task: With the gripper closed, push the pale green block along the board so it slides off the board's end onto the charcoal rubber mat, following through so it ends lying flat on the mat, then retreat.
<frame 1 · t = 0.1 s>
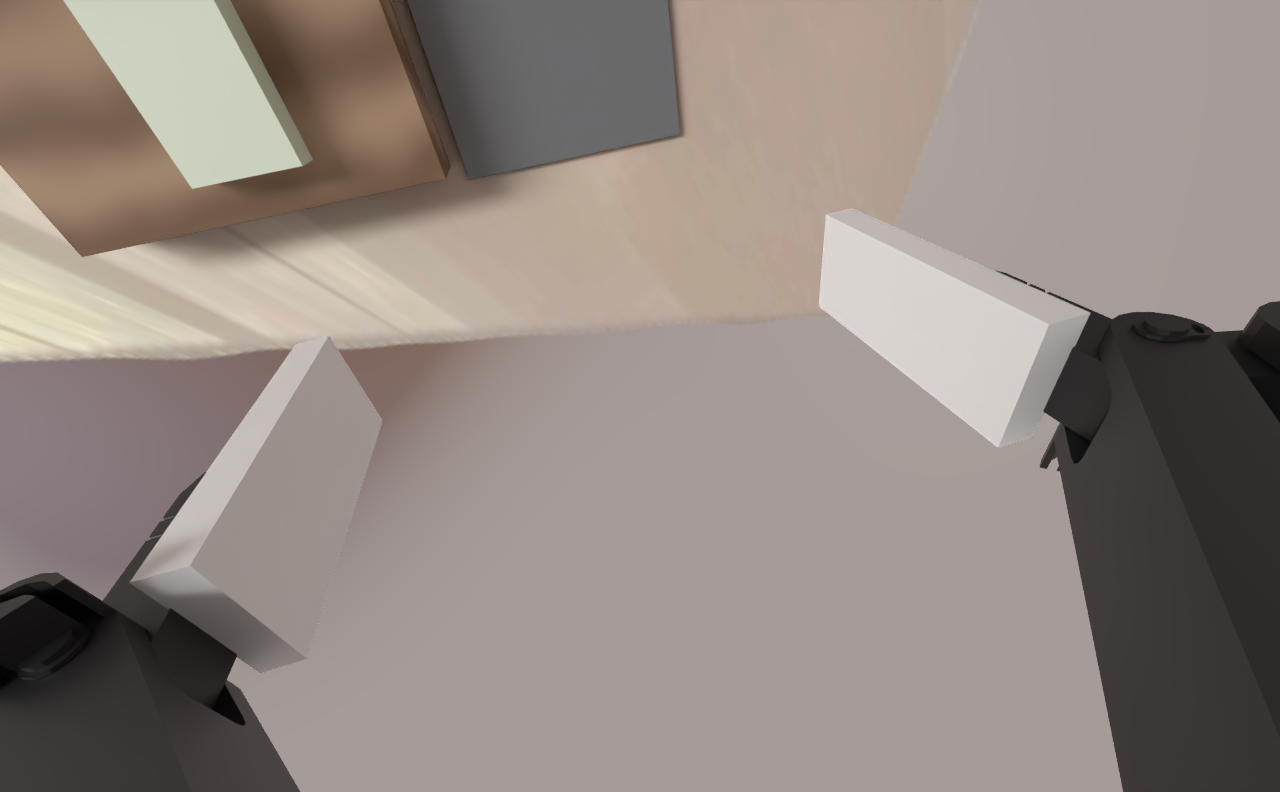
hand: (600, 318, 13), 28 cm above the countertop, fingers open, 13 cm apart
board: (224, 82, 29), on the countertop
mat: (547, 21, 31), on the countertop
pale green block: (209, 81, 26), point 4 cm above the countertop, touching board
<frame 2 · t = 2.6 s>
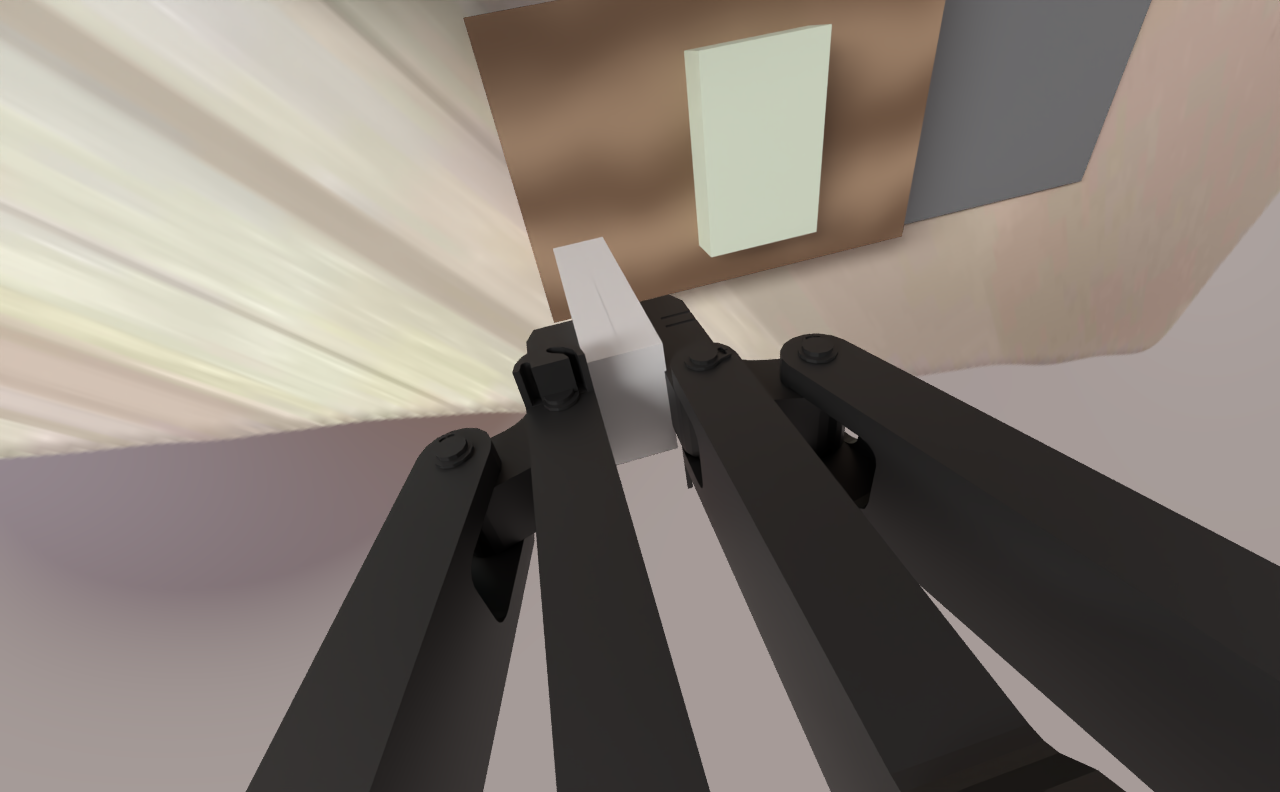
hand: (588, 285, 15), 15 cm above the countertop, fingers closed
board: (703, 138, 28), on the countertop
mat: (1013, 70, 29), on the countertop
pale green block: (748, 146, 25), point 4 cm above the countertop, touching board
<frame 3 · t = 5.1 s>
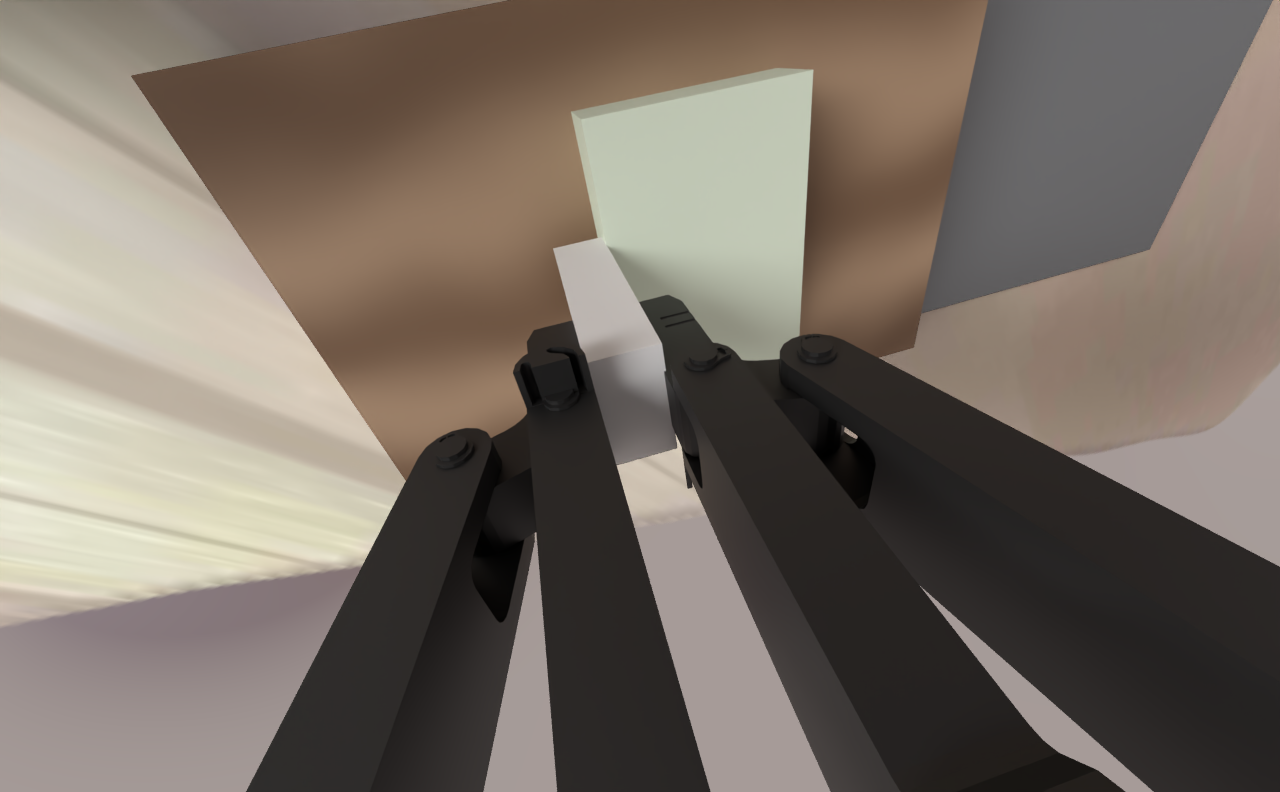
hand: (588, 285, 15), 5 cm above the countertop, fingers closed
board: (625, 222, 19), on the countertop
mat: (1068, 113, 21), on the countertop
pale green block: (690, 246, 16), point 4 cm above the countertop, touching board, gripper
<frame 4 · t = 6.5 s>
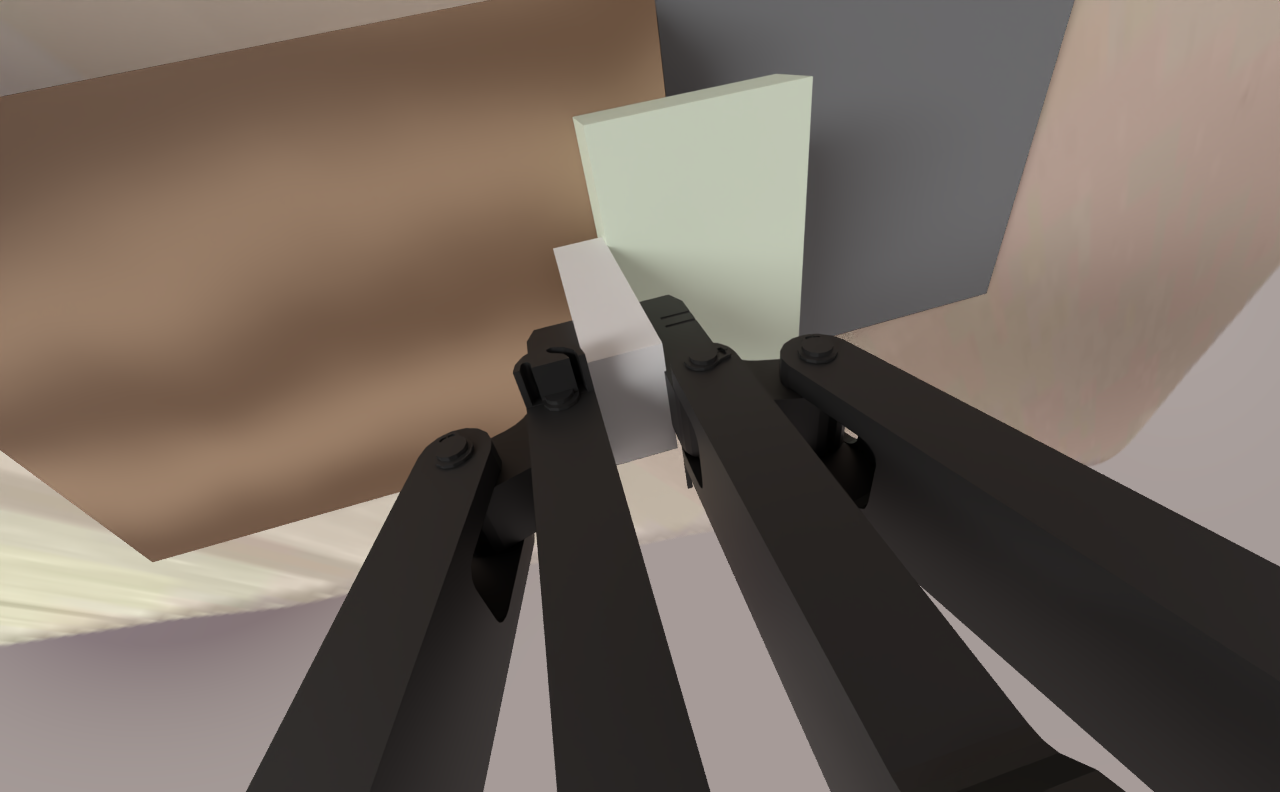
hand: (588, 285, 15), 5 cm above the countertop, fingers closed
board: (374, 281, 18), on the countertop
mat: (859, 162, 20), on the countertop
pale green block: (690, 250, 16), point 4 cm above the countertop, touching gripper
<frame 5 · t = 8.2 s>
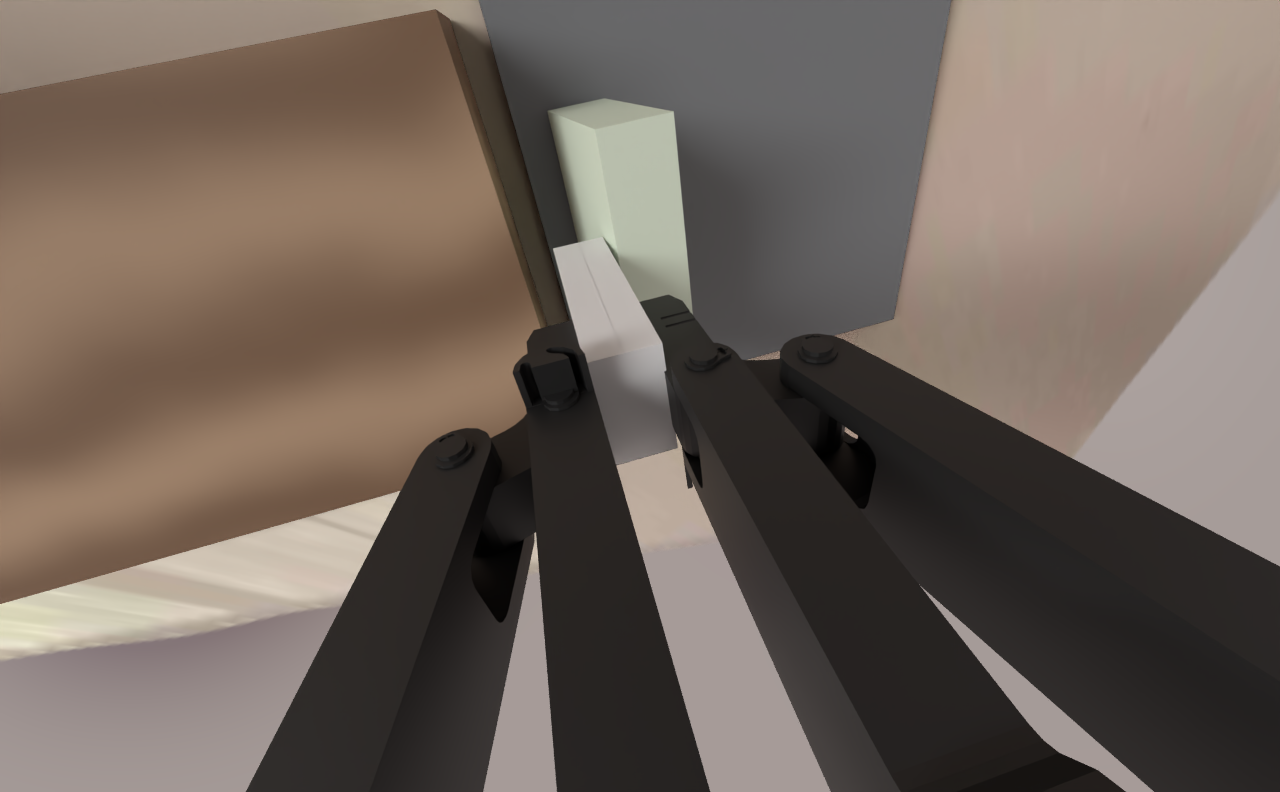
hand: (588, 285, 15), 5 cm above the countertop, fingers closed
board: (228, 315, 18), on the countertop
mat: (738, 191, 20), on the countertop
pale green block: (599, 269, 16), point 4 cm above the countertop, tilted 96°, touching mat
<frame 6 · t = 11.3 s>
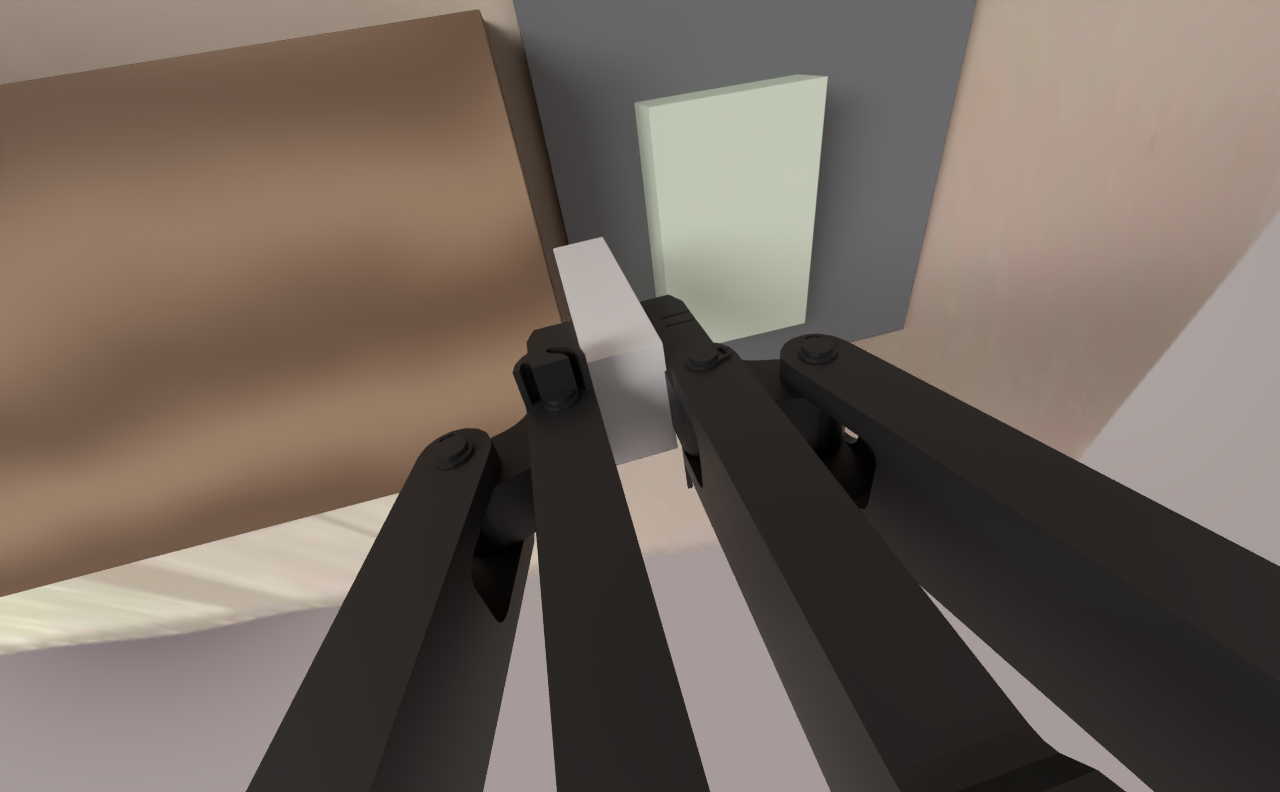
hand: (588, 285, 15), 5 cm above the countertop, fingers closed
board: (245, 308, 18), on the countertop
mat: (758, 199, 20), on the countertop
pale green block: (740, 233, 18), point 2 cm above the countertop, tilted 180°, touching mat
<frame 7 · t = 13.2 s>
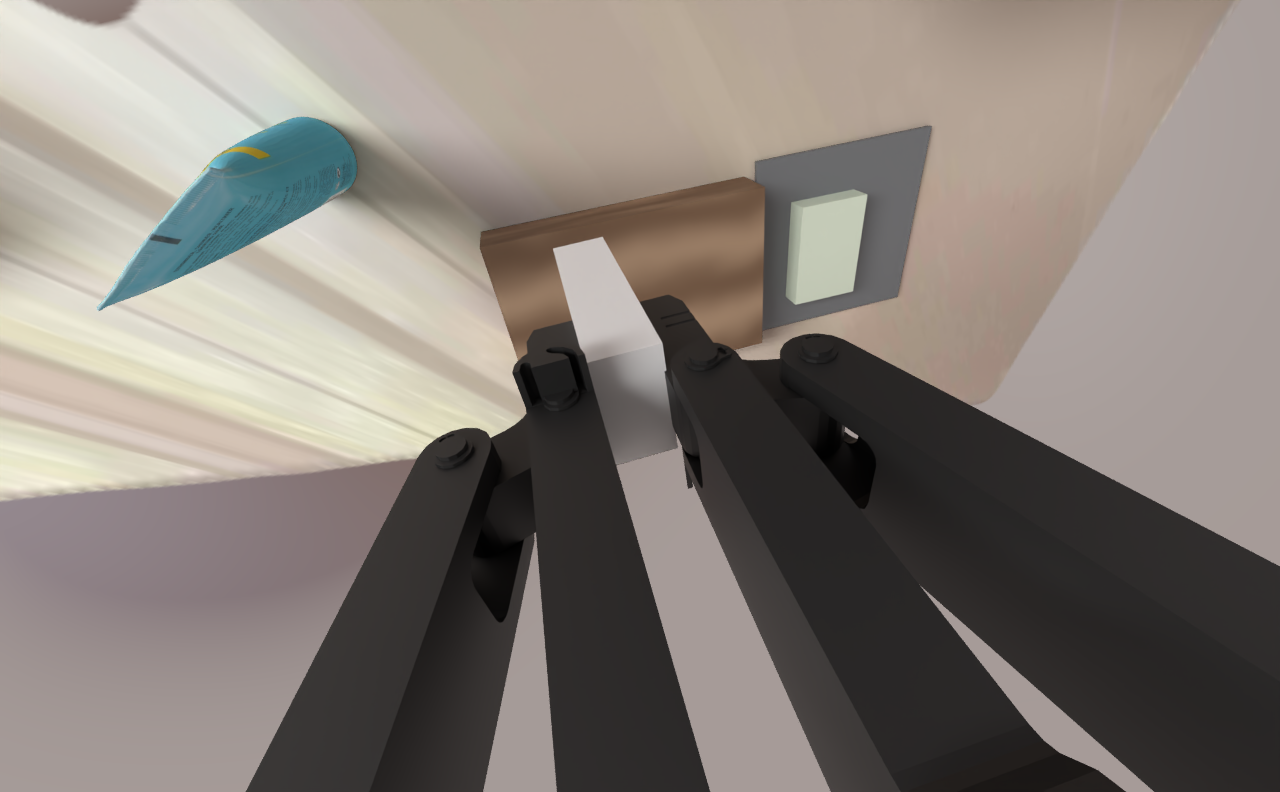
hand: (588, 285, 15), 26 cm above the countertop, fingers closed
board: (629, 283, 43), on the countertop
mat: (833, 236, 45), on the countertop
pale green block: (829, 252, 43), point 2 cm above the countertop, tilted 180°, touching mat
tube: (315, 156, 33), on the countertop
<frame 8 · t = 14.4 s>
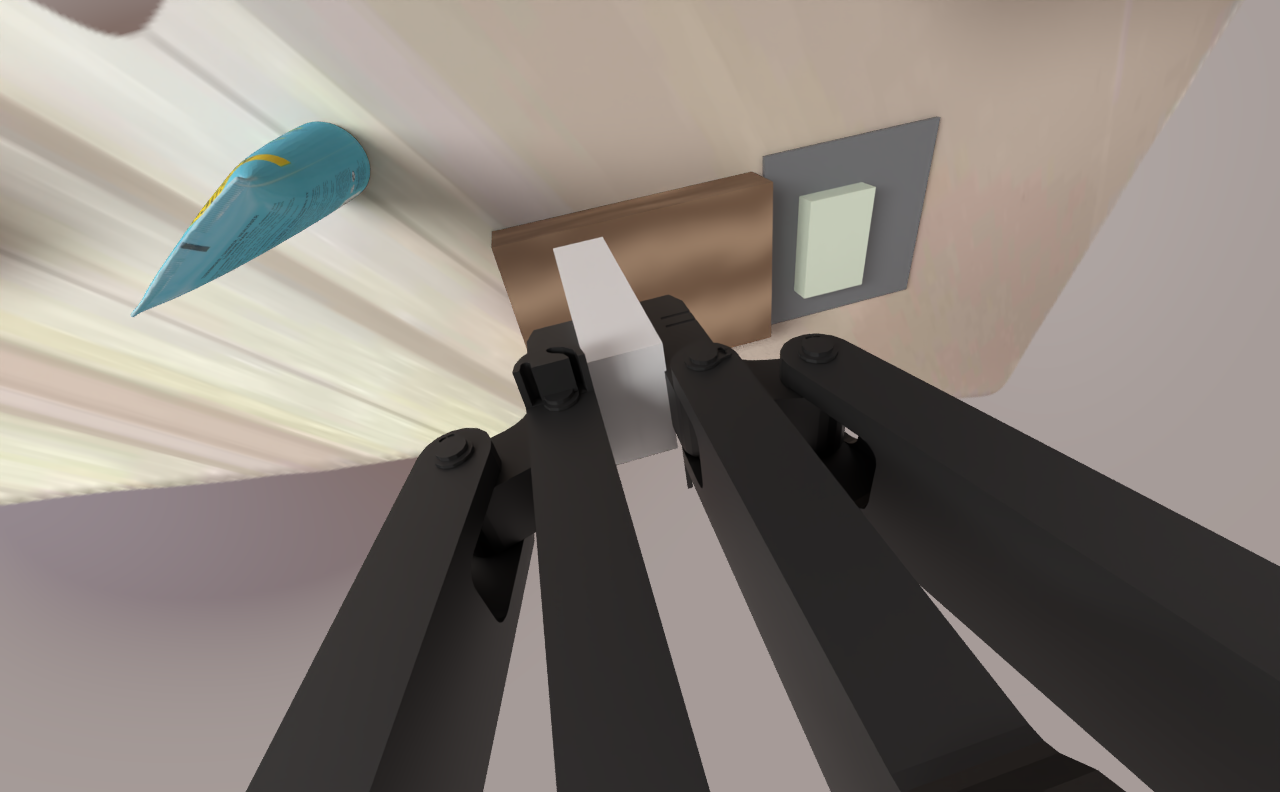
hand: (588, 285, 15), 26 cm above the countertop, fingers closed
board: (638, 280, 43), on the countertop
mat: (841, 230, 45), on the countertop
pale green block: (838, 245, 44), point 2 cm above the countertop, tilted 180°, touching mat
tube: (329, 160, 33), on the countertop
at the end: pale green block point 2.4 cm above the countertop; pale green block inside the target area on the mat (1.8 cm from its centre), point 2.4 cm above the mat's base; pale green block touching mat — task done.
